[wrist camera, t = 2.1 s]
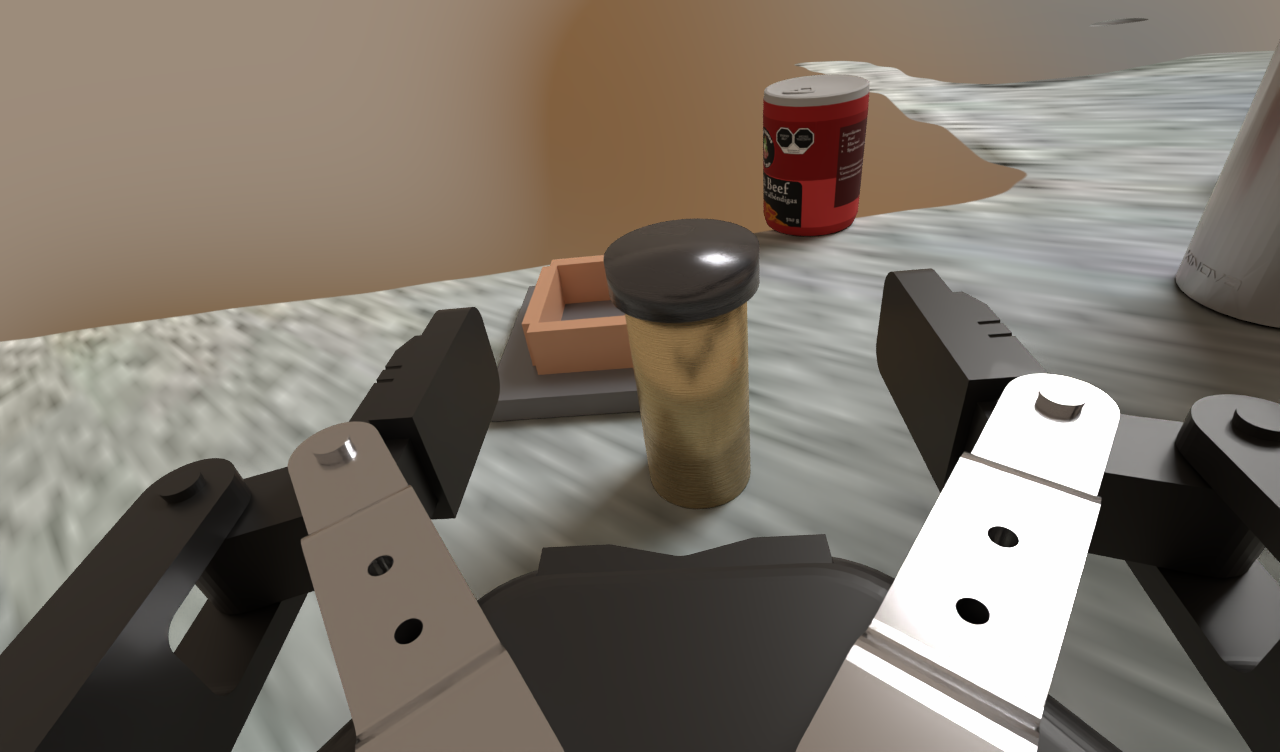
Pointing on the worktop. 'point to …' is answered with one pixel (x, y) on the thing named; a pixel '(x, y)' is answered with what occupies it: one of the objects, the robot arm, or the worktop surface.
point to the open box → (567, 348)
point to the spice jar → (689, 351)
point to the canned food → (813, 152)
